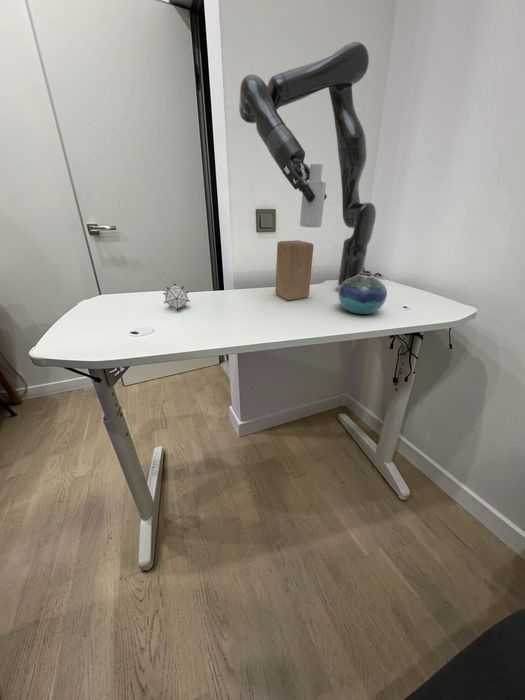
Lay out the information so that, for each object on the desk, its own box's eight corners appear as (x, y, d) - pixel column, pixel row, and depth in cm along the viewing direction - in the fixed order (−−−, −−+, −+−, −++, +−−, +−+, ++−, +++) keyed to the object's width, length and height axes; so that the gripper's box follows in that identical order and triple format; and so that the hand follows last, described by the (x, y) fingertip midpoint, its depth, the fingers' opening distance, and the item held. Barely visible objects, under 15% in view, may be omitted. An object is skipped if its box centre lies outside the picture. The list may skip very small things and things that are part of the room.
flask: (313, 224, 87) (320, 165, 80) (324, 227, 82) (332, 164, 75) (296, 225, 85) (300, 164, 78) (306, 227, 80) (312, 163, 73)
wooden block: (287, 301, 108) (291, 244, 98) (274, 294, 115) (276, 241, 106) (309, 298, 112) (314, 243, 102) (295, 291, 120) (299, 239, 110)
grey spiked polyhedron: (185, 318, 100) (199, 297, 96) (162, 316, 94) (177, 293, 89) (175, 300, 104) (189, 279, 99) (153, 296, 97) (167, 274, 93)
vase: (365, 302, 108) (372, 266, 102) (392, 317, 95) (402, 276, 89) (328, 305, 104) (333, 267, 98) (351, 321, 91) (358, 278, 85)
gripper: (279, 132, 72) (316, 188, 72) (307, 140, 82) (339, 189, 82) (261, 158, 77) (296, 211, 77) (289, 163, 87) (320, 209, 87)
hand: (318, 199), depth 79 cm, fingers closed on flask, 6 cm apart
